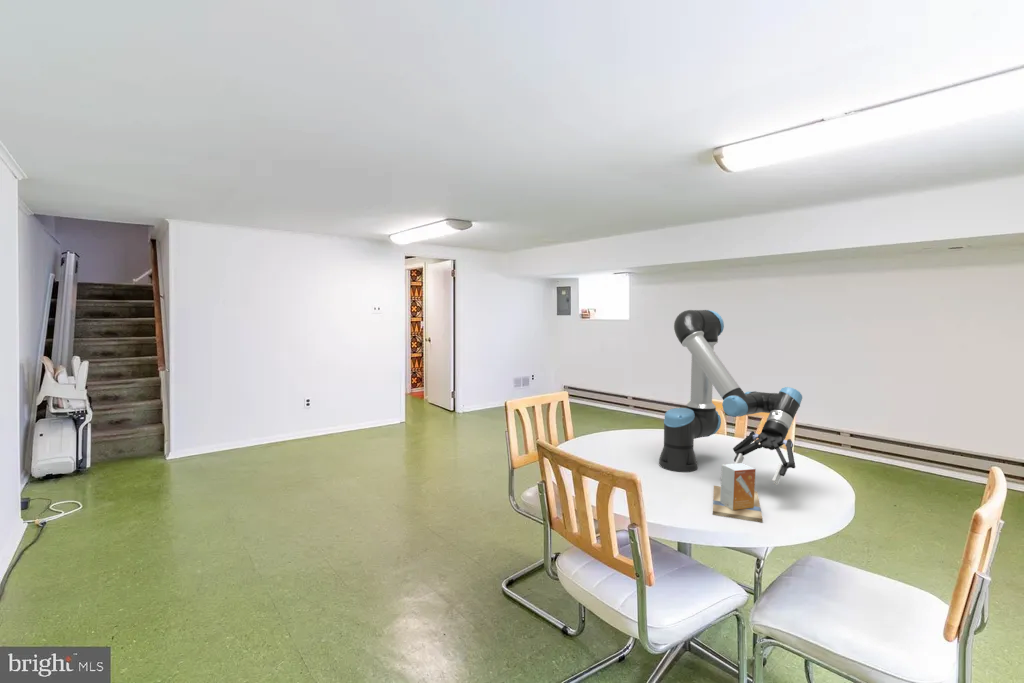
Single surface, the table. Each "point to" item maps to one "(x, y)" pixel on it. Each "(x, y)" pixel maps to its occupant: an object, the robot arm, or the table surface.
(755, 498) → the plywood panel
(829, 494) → the table surface
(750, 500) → the small box
